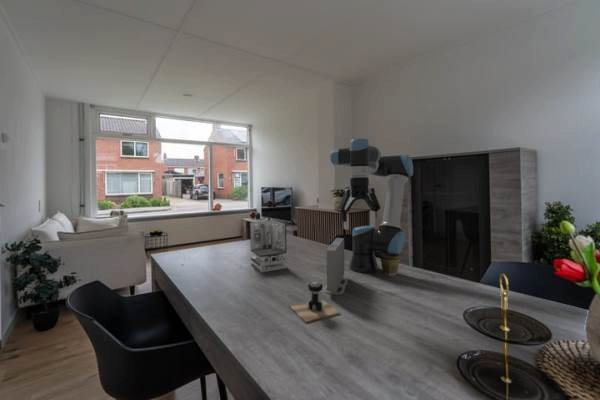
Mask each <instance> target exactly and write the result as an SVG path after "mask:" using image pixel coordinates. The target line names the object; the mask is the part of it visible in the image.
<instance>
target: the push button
mask: <svg viewBox="0 0 600 400" xmlns="http://www.w3.org/2000/svg"><path fill="white" fill-rule="evenodd" d="M307 287H308V290H309V291H310V299H309V301H310V300H311V301H310V302H309V303H306V304H309V305H306V306H308V307H309V309H313V310H318V311H321V310H322V302H321V300H320V298H321V291H323V284H322V283H321V282H320V281H317V280H313V281H310V283H308V284H307Z"/></svg>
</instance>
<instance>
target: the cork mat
mask: <svg viewBox="0 0 600 400" xmlns="http://www.w3.org/2000/svg"><path fill="white" fill-rule="evenodd" d="M320 300H321V302H322V310H321V311H318V310H313V309H309V307H308V306H306V305H309V304H306V303H309V302H310V301H311V300H310V299H309V300H305V301H301V302H298V303H293V304H289V305H288V307H289V308H290V309H291V310H292V311H293V312H294V314H295V315H296V316H298V317H299V318H300V319H301V320H302V322H304V323H305V324H307V323H311V322H316V321H318V320H323V319H326V318H330V317H334V316H339V315H340V314H341V312H340V311H338V309H336V308H334V307H333V306H332V305H331V304H329V303H328V302H326V301H325V300H324V299H323V298H321V297H320Z"/></svg>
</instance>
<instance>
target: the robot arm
mask: <svg viewBox="0 0 600 400" xmlns="http://www.w3.org/2000/svg"><path fill="white" fill-rule="evenodd" d="M329 156H330V162H331V164H332V165H333V166H345V167H349V175H350V181H349V183H350V189H349V188H344V189H343V196H342V199H341V200H340V202H339V203H340V204H339V206H338V208H337V212H338V213H340V214H341V220H342V221H341V222H343V229H344V230H347V231H349V230H350V214H349V211H350V209H351V208H352V206H353V205H354V203H355V201H357V200H358V201H359V200H363V201H364V202H365V203H366V204H367V206H368V207H369V209H370V210H369V225H361V226H356V227H354V228H353V229H352V255H351V259H350V262H349V269H350V270H352V271H353V272H357V273H373V272H376V271H378V269H379V267H378V266H379V265H378V262H377V259H376V256H375V252H378V253H389V254H400V253H401V252H402V251H403V248H404V245H405V242H406V233H405V232H403V228H402V227H401V215H402V210H403V209H402V208H403V200H404V191H405V185H406V183H407V182H408V181H409V177H412V176H414V163H413V160H412V157H411V156H410V155H408V154H397V155H383V156H382V153H381V150H380V149H379V148H378V147H376V146H374V145H370V142H369V140H368V139H367V138H353V139H351V140H350V143H349V147H345V148H336V149H333V150H332V151H331V152H330V155H329ZM370 175H372V176H375V177H382V178H384V177H385V179H386V181H388V182H387V188H386V189H387V190H386V196H385V204H384V207H383V208H384V210H383V215H382V216H383V217H382V223H381V224H379V225H378V229H376V219H377V212H378V211H379V210H381V209H382V208H381V205H380V202H379V200H378V198H377V194H376V193H375V192H376V191H375V188H373V187H369V185H370V183H369V181H370V180H369V179H370V178H369V177H368V176H370Z"/></svg>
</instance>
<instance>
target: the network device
mask: <svg viewBox="0 0 600 400" xmlns="http://www.w3.org/2000/svg"><path fill="white" fill-rule="evenodd" d="M332 241H333V242H331V244H330V245H329V246H328V247H327V248H326V284H325V286H324V288H323V293H325V294H328V295H343V294H344V292H345V291H346V287H347V284H348V279H347V278H344V275H345V238H341V237H335V239H334V240H332ZM342 281H344V283H341V282H342ZM339 288H340V289H341V291H338V290H339Z"/></svg>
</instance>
